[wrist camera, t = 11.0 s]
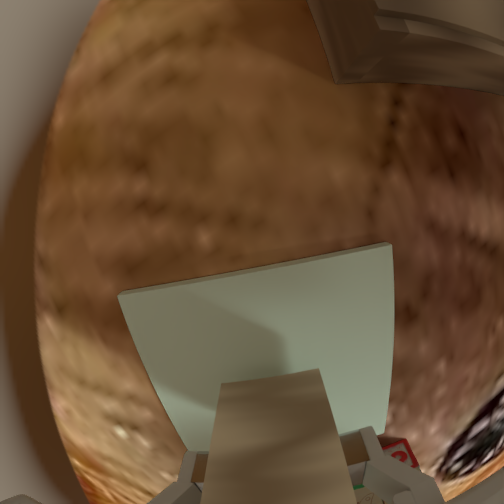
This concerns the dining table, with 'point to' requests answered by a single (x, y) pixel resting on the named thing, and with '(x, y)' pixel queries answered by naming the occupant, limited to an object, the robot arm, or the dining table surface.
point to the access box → (414, 41)
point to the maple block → (276, 444)
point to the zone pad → (271, 335)
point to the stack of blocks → (398, 450)
